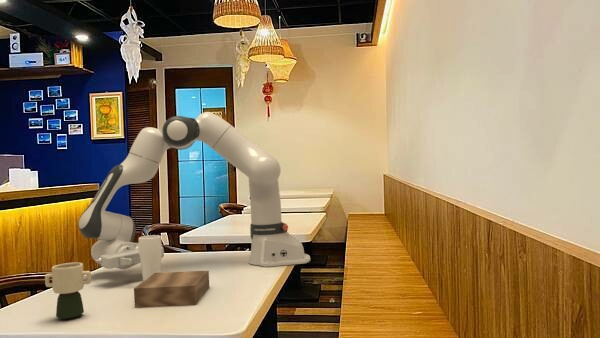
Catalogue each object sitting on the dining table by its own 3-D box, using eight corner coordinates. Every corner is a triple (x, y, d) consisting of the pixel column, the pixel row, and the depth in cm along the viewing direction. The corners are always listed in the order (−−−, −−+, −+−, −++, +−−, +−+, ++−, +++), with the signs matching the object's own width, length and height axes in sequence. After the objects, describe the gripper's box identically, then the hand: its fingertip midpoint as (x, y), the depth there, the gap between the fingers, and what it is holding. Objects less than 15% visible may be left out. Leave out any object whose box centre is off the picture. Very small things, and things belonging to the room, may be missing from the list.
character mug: (97, 311, 126) (94, 260, 126) (88, 319, 119) (85, 266, 119) (52, 314, 124) (50, 263, 124) (41, 323, 117) (38, 269, 117)
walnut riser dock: (209, 287, 145) (208, 270, 145) (195, 304, 127) (194, 285, 127) (155, 289, 145) (155, 272, 145) (134, 307, 127) (133, 288, 127)
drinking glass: (156, 287, 147) (154, 238, 147) (136, 287, 149) (133, 238, 149) (167, 282, 154) (164, 234, 154) (147, 282, 155) (145, 235, 155)
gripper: (92, 251, 154) (114, 254, 145) (149, 241, 170) (172, 243, 161) (93, 271, 155) (115, 275, 146) (150, 259, 170) (173, 262, 161)
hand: (146, 258), depth 153 cm, fingers open, 8 cm apart
